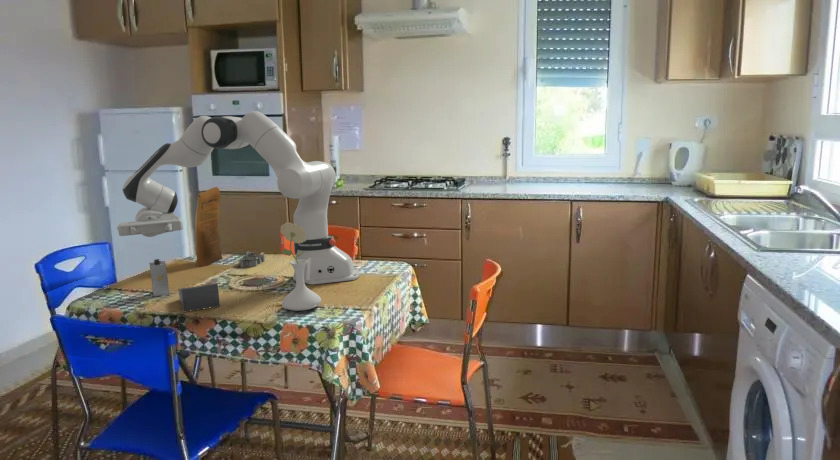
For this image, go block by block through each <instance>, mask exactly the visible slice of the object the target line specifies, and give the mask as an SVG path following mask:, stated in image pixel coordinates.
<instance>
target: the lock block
mask: <svg viewBox="0 0 840 460" xmlns="http://www.w3.org/2000/svg"><path fill="white" fill-rule="evenodd" d="M149 272H150V279H151V287H152V294H153V297H155V298H157V297H163V296H162V295H164V296H168V295H169V296H170V287H169V280H168V269H167V263H166V261H165V260H162V261H161V259H160V258H156V259H154V260H153V262H149ZM156 296H157V297H156Z"/></svg>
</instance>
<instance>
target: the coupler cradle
mask: <svg viewBox="0 0 840 460" xmlns="http://www.w3.org/2000/svg"><path fill="white" fill-rule="evenodd" d="M178 296H179V299H178V300H179V302H180V301H181V302H180V304H182V305H181V308H182V307H183V308H182V311H183V310H184V311H190V310H197V309H203V308H209V307H216V308H218V307H217V306H220V307H221V303H220V294H219V284H218V283H211V284H205V285H197V286H190V287H184V288H183V287H182V288H180V289H178ZM209 309H210V308H209ZM203 310H204V309H203ZM184 311H183V312H184ZM197 311H198V310H197Z"/></svg>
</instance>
